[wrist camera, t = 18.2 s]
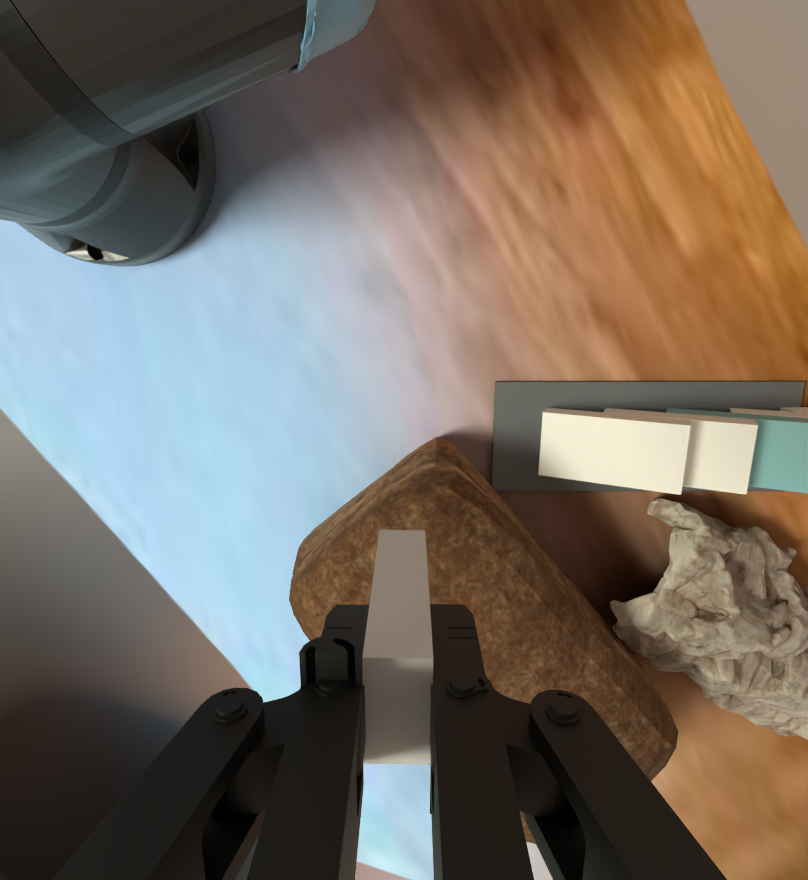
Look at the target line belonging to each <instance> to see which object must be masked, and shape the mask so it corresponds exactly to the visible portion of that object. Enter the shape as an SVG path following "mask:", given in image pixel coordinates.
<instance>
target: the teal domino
mask: <svg viewBox="0 0 808 880" xmlns="http://www.w3.org/2000/svg"><path fill="white" fill-rule="evenodd" d="M666 413H677V414H690V415H702V416H715V417H727V418H740V419H752V420H755V421H756V423H757V424H758V429H757V435H756V441H755V447H754V453H753V459H752V465H751V471H750V477H749V483H748V486H751V487H760V488H768V489H776V490H784V491H792V492H801V493H808V418H801V417H787V416H773V415H760V414H746V413H732V412H718V411H704V410H691V409H677V408H667V410H666Z"/></svg>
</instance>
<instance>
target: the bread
mask: <svg viewBox="0 0 808 880" xmlns="http://www.w3.org/2000/svg"><path fill="white" fill-rule="evenodd" d="M379 530H425V536H426V552H427V567H428V583H429V598H430V604H464V605H465V606H466V607H467V608H468V609H469V610H470V612H471V613H472V614H473V615H474V619H475V624H476V629H477V634H478V639H479V644H480V649H481V654H482V659H483V664H484V669H485V674H486V677H487V678H488V679H489V680H490V681H491V684H492V686H493V688H494V689H495V690H497V691H498V692H499V693H501V694H503V695H504V696H506V697H508V698H511V699H514V700H517V701H521V702H525V703H529V704H531V701H532V699H533V698H534V697H535V696H536V695H537V694H538V693H540V692H543V691H546V690H563V691H568V692H572V693H574V694H576V695H578V696H580V697H582V698H584V699H585V700H586V701H587V702H588V703H589V704H590V705H591V706H592V707H593V708H594V709H595V711H596V712H597V713H598V715H599V716H600V717H601V718H602V720H603V721H604V722H605V724H606V725H607V726H608V727H609V729H610V730H611V731H612V733H613V734H614V735H615V736H616V738H617V739H618V740H619V742H620V743H621V744H622V745H623V747H624V748H625V749H626V751H627V752H628V753H629V754H630V756H631V757H632V758H633V760H634V761H635V762H636V763H637V765H638V766H639V767H640V768H641V770H642V771H643V772H644V774H645V775H646V776H647V777H648V779H649V780H650V781H652V780H653V778H654V777H655V776H656V775H657V774H658V773H659V772H660V771H661V770H662V769H663V768H664V767H665V766H666V764H667V762H668V761H669V759H670V757H671V756H672V754H673V752H674V750H675V749H676V744H677V737H678V730H677V728H676V725H675V723H674V721H673V719H672V716H671V714H670V711H669V709H668V707H667V705H666V704H665V702H664V701H663V699H662V698H661V696H660V694H659V693H658V692H657V691H656V689H655V688H654V687H653V685H652V683H651V681H650V679H649V677H648V676H647V674H646V672H645V671H644V669H643V667H642V666H641V664H640V663H639V661H638V660H637V658H636V657H635V656H634V655H633V654H632V652H631V651H630V650H629V649H628V648H627V647H626V646H625V644H624V643H623V642H622V641H621V639H620V638H619V637H618V636H617V635H616V634H615V633H614V631H613V630H612V629H611V627H610V626H609V625H608V624H607V623H606V622H605V621H604V619H603V618H602V617H601V616H600V615H599V614H598V612H597V611H596V610H595V609H594V608H593V607H592V605H591V604H590V603H589V602H588V600H587V599H586V597H585V596H584V595H583V593H582V592H581V591H580V589H579V588H578V587H577V586H576V585H575V584H574V583H573V582H572V581H571V580H570V579H569V578H568V577H567V576H566V575H564V574H563V572H562V571H561V570H560V569H559V568H558V566H557V565H556V564H555V563H554V562H553V560H552V559H551V558H550V557H549V556H548V554H547V553H546V552H545V551H544V550H543V548H542V547H541V546H540V545H539V544H538V542H537V541H536V540H535V539H534V537H533V536H532V534H531V533H530V532H529V530H528V529H527V528H526V526H525V525H524V524H523V523H522V521H521V520H520V519H519V518H518V517H517V516H516V514H515V513H514V512H513V511H512V510H511V509H510V507H509V506H508V505H507V504H506V503H505V501H504V500H503V499H502V498H501V496H500V495H499V494H498V493H497V492H496V490H495V489H494V488H493V487H492V486H491V485H490V484H489V483H488V482H487V481H486V479H485V478H484V477H483V476H482V475H481V474H480V473H479V472H478V470H477V469H476V468H475V467H474V466H473V465H472V464H471V462H470V461H469V460H468V459H467V458H466V457H465V456H464V454H463V453H462V452H461V451H460V450H459V449H458V448H457V447H456V446H455V445H454V443H451V442H449V441H446V440H444V439H441V438H439V437H436V438H434V439H432V440H431V441H429V442H427V443H426V444H424V445H422V446H421V447H419V448H418V449H416V450H415V451H413V452H412V453H410V454H409V455H407V456H406V457H405V458H404V459H402V460H401V461H400V462H399V463H398V464H396V465H395V466H394V467H393V468H392V469H391V470H389V471H388V472H387V473H385V474H384V475H383V476H381V477H380V478H379V479H377V480H376V481H375V482H373V483H372V484H371V485H370V486H368V487H367V488H366V489H364V490H363V491H362V492H361V493H359V494H358V495H357V496H355V497H354V498H353V499H351V500H350V501H349V502H347V503H346V504H345V505H344V506H342V507H341V508H340V509H339V510H337V511H336V512H335V513H334V514H333V515H331V516H330V517H329V518H328V519H326V520H325V521H324V522H323V523H321V524H320V525H319V526H317V527H316V528H315V529H314V530H313V531H312V532H311V533H310V534H309V535H308V536H307V537H306V538H305V539H304V540H303V542H302V543H301V545H300V547H299V549H298V553H297V557H296V561H295V566H294V570H293V577H292V580H291V588H290V597H289V601H290V604H291V607H292V610H293V614H294V616H295V617H296V619H297V621H298V623H299V624H300V626H301V628H302V630H303V632H304V633H305V635H306V636H307V637H308V639H309V640H310V641H311V640H312V639H315V638H318V637H321V635H322V631H323V629H324V623H325V620H326V616H327V614H328V613H329V612H330V611H331V610H332V609H333V608H334V607H335V606H336V605H337V604H340V605H369V604H370V597H371V589H372V582H373V574H374V567H375V560H376V552H377V545H378V537H379ZM430 765H431V764H430ZM520 816H521V821H522V825H523V830H524V835H525V840H526V842H530V843H535V844H536V842H535V840H534V838H533V836H532V834H531V832H530V830H529V828H528V826H527V824H526V822H525V818H524V814H523V812H521V811H520Z"/></svg>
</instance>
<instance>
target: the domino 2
mask: <svg viewBox="0 0 808 880" xmlns="http://www.w3.org/2000/svg"><path fill="white" fill-rule="evenodd" d="M604 413H615V414H627V415H638V416H650V417H661V418H673V419H684V420H690V423H691V428H690V435H689V442H688V449H687V456H686V463H685V471H684V478H683V485H682V486H684V487H692V488H699V489H707V490H715V491H722V492H730V493H738V494H745V495H747V489H748V483H749V477H750V471H751V465H752V459H753V453H754V447H755V441H756V435H757V429H758V424H757V423H756V421H755V420H752V419H740V418H727V417H715V416H702V415H690V414H677V413H664V412H652V411H639V410H627V409H614V408H606V409H605V410H604Z"/></svg>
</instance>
